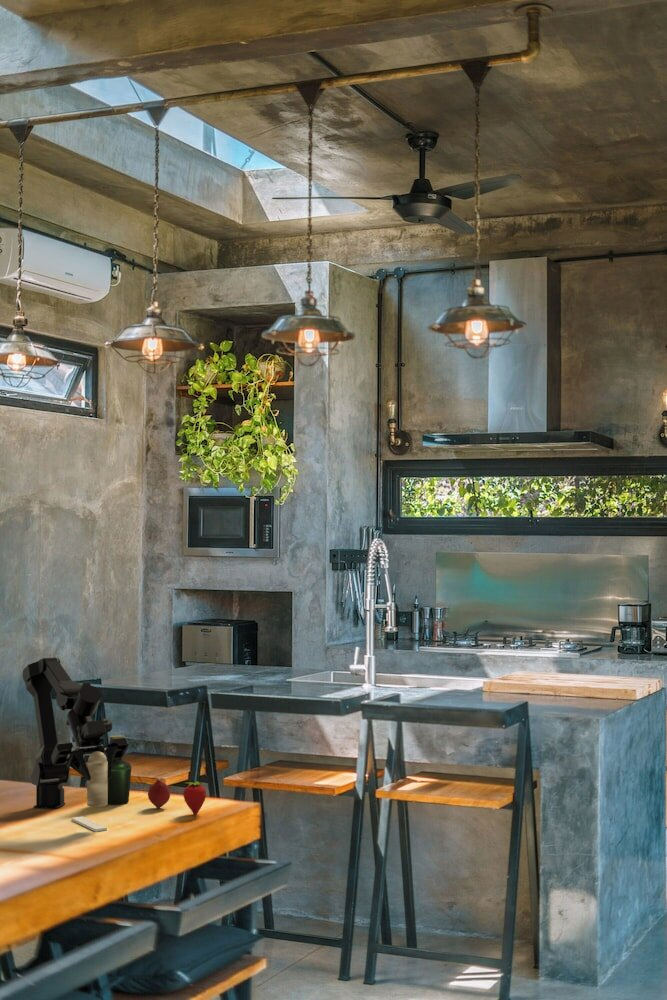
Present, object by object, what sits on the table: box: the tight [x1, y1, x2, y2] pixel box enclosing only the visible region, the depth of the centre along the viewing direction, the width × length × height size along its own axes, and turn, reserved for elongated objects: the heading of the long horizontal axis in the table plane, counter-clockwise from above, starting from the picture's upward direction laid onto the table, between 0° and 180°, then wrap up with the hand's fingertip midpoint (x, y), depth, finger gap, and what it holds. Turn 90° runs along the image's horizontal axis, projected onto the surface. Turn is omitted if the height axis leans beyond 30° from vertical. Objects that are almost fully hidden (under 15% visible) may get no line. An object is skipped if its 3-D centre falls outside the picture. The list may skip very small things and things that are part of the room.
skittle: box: [86, 751, 108, 808], centre depth 300 cm, size 5×5×13 cm
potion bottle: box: [107, 734, 132, 806], centre depth 332 cm, size 8×8×18 cm
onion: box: [147, 777, 171, 809], centre depth 324 cm, size 6×6×8 cm
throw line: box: [70, 816, 108, 833], centre depth 304 cm, size 16×3×1 cm, turn 33°
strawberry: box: [182, 780, 207, 815], centre depth 316 cm, size 6×8×10 cm
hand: (99, 778), depth 299 cm, fingers closed on skittle, 5 cm apart
